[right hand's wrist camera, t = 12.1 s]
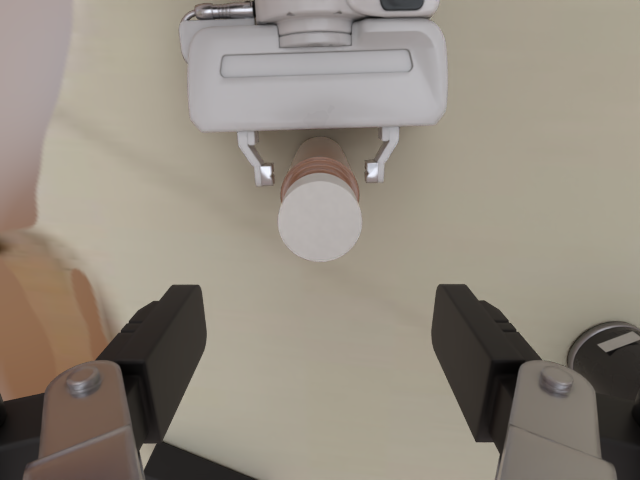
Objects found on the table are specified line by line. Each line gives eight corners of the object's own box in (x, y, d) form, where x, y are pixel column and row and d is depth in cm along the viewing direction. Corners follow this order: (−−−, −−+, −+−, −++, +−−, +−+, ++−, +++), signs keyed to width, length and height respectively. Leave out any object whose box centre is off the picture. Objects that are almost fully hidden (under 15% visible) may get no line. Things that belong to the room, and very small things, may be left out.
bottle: (309, 126, 37) (298, 152, 19) (354, 151, 38) (387, 201, 20) (285, 172, 39) (254, 239, 20) (329, 196, 40) (338, 280, 21)
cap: (303, 158, 21) (301, 165, 19) (372, 195, 21) (378, 206, 19) (268, 225, 22) (263, 239, 20) (334, 258, 23) (336, 275, 21)
